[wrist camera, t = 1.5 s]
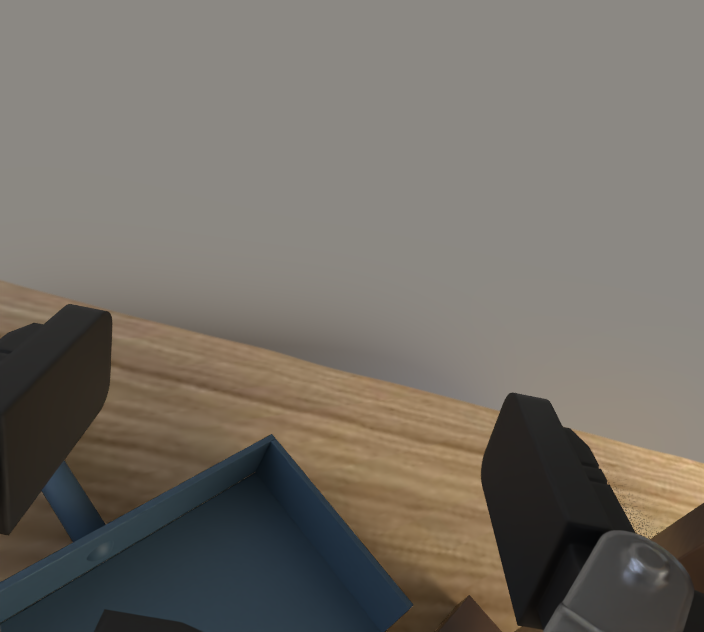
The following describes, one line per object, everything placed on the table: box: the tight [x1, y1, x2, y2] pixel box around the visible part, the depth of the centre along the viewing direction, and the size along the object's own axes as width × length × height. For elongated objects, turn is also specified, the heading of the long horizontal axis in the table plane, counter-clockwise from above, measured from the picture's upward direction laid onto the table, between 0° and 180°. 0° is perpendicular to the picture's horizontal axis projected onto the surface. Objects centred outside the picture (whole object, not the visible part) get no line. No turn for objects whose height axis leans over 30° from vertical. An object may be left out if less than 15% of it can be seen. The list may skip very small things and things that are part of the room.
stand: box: [435, 503, 704, 632], centre depth 21 cm, size 10×11×34 cm
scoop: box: [0, 434, 413, 632], centre depth 29 cm, size 22×22×4 cm
